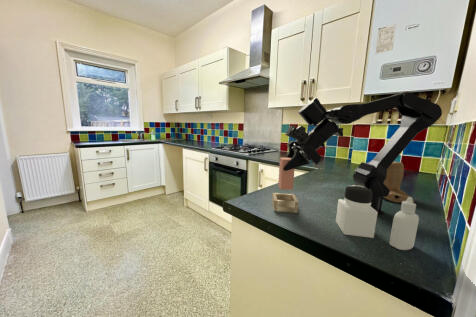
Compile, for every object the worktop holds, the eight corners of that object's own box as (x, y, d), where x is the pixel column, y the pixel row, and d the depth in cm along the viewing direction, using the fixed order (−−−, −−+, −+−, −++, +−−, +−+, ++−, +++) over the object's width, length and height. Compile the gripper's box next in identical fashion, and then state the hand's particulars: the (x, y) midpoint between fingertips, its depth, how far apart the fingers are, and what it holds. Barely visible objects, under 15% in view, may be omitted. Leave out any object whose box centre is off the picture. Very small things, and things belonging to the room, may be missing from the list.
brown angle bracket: (368, 189, 88) (373, 157, 85) (401, 194, 83) (407, 160, 80) (374, 200, 74) (380, 162, 72) (414, 206, 69) (421, 166, 67)
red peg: (289, 186, 66) (291, 157, 65) (292, 189, 62) (295, 159, 61) (278, 185, 66) (280, 157, 65) (280, 189, 62) (282, 159, 61)
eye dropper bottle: (382, 238, 48) (390, 193, 46) (408, 241, 47) (417, 195, 45) (393, 249, 43) (402, 199, 41) (421, 253, 42) (432, 202, 40)
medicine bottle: (374, 238, 48) (381, 193, 46) (343, 234, 49) (349, 190, 47) (362, 224, 54) (367, 184, 53) (335, 221, 56) (340, 182, 54)
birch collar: (293, 203, 69) (294, 194, 68) (297, 212, 61) (298, 202, 60) (272, 202, 69) (272, 192, 69) (273, 210, 62) (274, 200, 61)
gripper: (294, 118, 70) (262, 147, 71) (314, 115, 51) (271, 155, 53) (313, 140, 71) (282, 168, 73) (340, 145, 52) (297, 183, 54)
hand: (282, 168), depth 63 cm, fingers closed on red peg, 4 cm apart
